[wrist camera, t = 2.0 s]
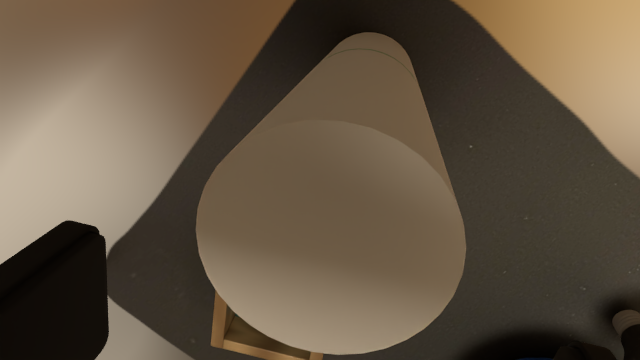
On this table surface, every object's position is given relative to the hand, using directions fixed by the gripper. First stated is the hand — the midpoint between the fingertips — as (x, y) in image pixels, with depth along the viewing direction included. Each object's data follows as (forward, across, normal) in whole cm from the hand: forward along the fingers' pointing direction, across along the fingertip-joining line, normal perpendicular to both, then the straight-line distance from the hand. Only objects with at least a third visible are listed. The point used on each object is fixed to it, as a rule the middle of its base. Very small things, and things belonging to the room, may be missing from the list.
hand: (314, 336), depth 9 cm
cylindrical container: (+28, 0, 0) cm, 28 cm away
